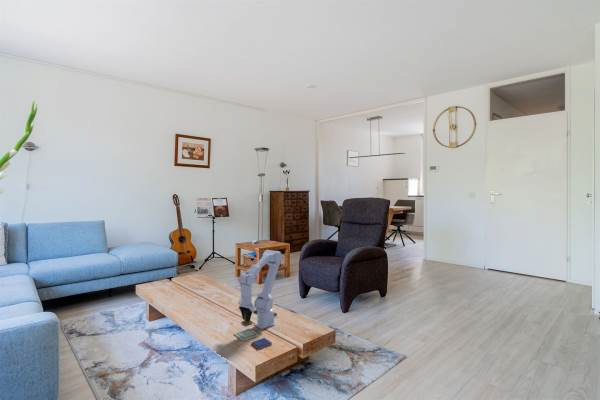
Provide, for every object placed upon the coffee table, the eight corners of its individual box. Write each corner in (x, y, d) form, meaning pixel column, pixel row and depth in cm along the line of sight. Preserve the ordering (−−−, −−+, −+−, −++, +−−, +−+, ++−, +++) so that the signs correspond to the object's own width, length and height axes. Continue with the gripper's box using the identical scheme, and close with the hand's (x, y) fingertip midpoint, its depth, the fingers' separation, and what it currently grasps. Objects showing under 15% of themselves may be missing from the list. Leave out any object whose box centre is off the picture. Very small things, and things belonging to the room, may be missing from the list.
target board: (250, 329, 185) (250, 328, 185) (259, 335, 177) (259, 334, 177) (234, 334, 178) (234, 333, 178) (242, 341, 171) (242, 340, 171)
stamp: (248, 322, 180) (248, 311, 180) (252, 324, 178) (252, 313, 177) (241, 324, 177) (241, 313, 177) (244, 326, 174) (244, 316, 174)
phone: (262, 307, 215) (277, 313, 205) (262, 309, 215) (277, 315, 205) (252, 311, 209) (268, 317, 199) (252, 313, 210) (268, 319, 199)
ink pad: (264, 339, 172) (264, 337, 172) (271, 344, 167) (271, 342, 167) (251, 344, 168) (251, 341, 167) (258, 349, 162) (258, 347, 162)
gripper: (233, 293, 180) (233, 317, 180) (246, 301, 168) (246, 326, 169) (244, 291, 184) (244, 314, 185) (258, 298, 173) (258, 323, 173)
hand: (246, 320), depth 177 cm, fingers closed on stamp, 3 cm apart
